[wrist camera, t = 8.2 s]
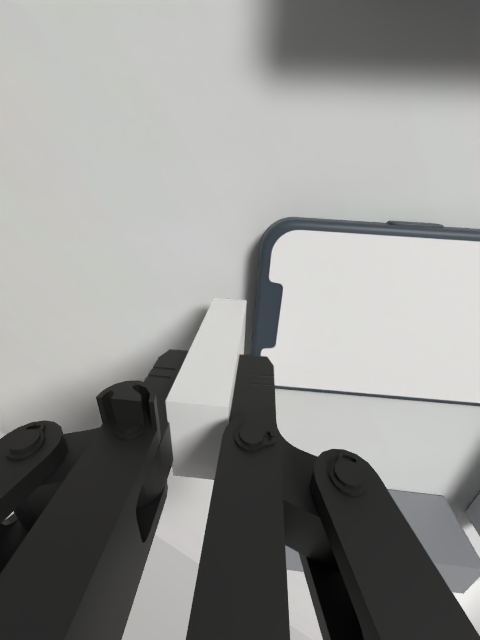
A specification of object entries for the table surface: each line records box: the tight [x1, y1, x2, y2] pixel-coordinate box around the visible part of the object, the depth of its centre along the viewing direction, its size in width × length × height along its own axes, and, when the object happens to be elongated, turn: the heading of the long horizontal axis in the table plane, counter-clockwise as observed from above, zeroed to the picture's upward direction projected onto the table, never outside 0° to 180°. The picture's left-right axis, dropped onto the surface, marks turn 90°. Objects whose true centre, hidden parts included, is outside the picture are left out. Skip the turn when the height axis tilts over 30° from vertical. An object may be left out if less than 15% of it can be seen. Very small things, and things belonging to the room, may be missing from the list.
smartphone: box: [251, 217, 480, 406], centre depth 13 cm, size 9×2×16 cm
